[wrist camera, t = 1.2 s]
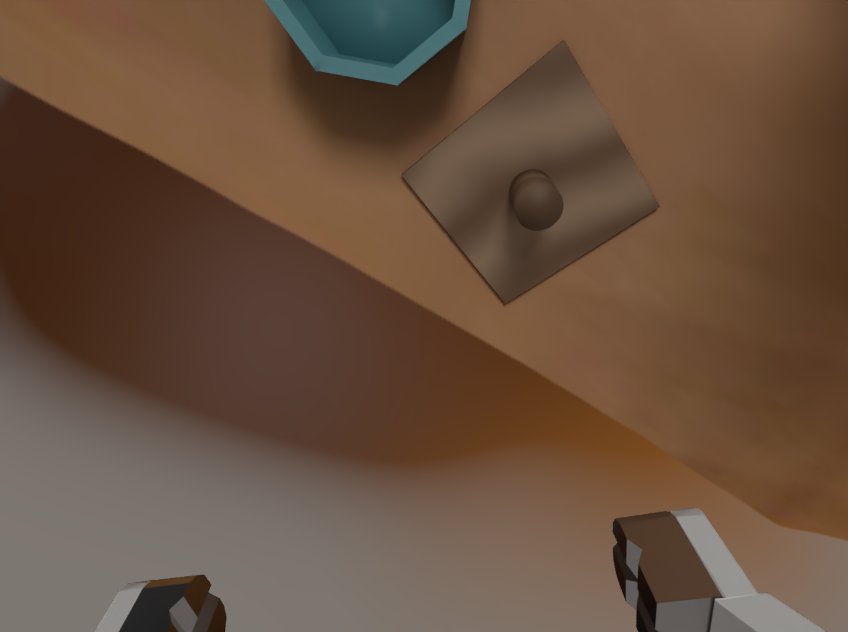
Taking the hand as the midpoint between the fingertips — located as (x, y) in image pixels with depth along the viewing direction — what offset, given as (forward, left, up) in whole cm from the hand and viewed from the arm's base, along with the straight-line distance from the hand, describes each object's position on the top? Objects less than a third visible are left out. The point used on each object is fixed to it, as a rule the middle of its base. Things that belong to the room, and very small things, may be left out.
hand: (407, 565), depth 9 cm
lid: (-6, -1, -29) cm, 29 cm away
